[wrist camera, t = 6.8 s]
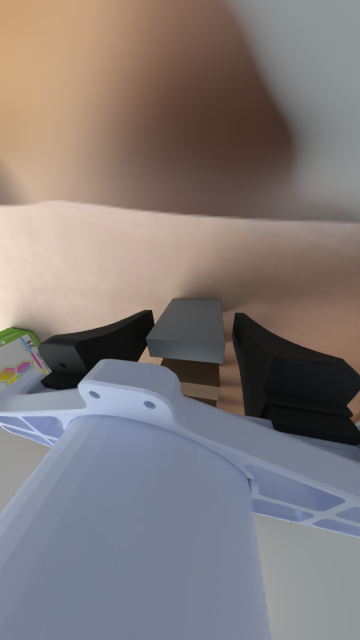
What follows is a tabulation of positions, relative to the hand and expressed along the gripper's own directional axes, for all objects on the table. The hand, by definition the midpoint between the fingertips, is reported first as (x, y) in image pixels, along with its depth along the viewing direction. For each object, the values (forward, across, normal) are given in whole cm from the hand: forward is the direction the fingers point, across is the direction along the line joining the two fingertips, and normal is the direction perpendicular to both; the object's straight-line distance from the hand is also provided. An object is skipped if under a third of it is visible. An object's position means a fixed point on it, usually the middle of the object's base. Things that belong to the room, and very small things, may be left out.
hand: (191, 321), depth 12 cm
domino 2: (+3, 0, +4) cm, 5 cm away
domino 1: (+3, 0, 0) cm, 3 cm away
